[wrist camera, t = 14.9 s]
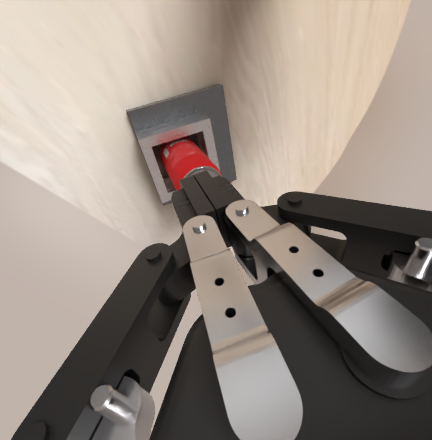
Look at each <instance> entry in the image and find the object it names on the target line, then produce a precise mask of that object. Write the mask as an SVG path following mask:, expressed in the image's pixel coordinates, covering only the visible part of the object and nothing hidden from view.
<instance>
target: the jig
mask: <svg viewBox="0 0 432 440" xmlns="http://www.w3.org/2000/svg"><path fill="white" fill-rule="evenodd" d="M127 113H128V115H129V118H130V120H131V123H132V126H133V128H134V131H135V134H136V136H137V139H138V142H139V144H140V147H141V150H142V152H143V155H144V157H145V160H146V163H147V165H148V168H149V170H150V173H151V175H152V178H153V181H154V183H155V186H156V188H157V191H158V194H159V196H160V199H161V201H162V204H163V205H166V204H169V203H172V200H171V197H172V193H173V192H175V191H177V190H176V188H175V186H174V184H173V183H172V181H171V179H170V177H168V178H165V179H163V178H162V175H161V172H160V169H159V167H158V164H157V161H156V158H155V155H154V153H153V150H152V147H153V146H156V145H159V144H162V143H166V142H169V141H172V140H175V139H178V138H182V137H185V136H188V135H191V134H194V133H196V138H197V142H198V146H199V149H200V150H201V151H202V152H203V153H204V154H205V155H206V156H207V157H208V158H209V159H210V160H211V161H212V162H213V163H214V164H215V166H216V167H217V168H218V169H219V170H220V172H221V175H222V177H224V178H226V179H227V180H228V181H229V182H231V181H234V180H236V172H235V166H234V159H233V152H232V146H231V139H230V132H229V126H228V119H227V112H226V106H225V99H224V92H223V85H221V84H218V85H214V86H211V87H207V88H204V89H200V90H197V91H193V92H190V93H186V94H182V95H179V96H175V97H172V98H168V99H165V100H161V101H158V102H154V103H150V104H147V105H143V106H140V107H136V108H133V109H129V110H127Z"/></svg>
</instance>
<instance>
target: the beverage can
mask: <svg viewBox="0 0 432 440" xmlns="http://www.w3.org/2000/svg"><path fill="white" fill-rule="evenodd" d="M160 157H161V160H162V163H163V165H164V167H165V169H166V171H167V173H168V175H169V177H170V179H171V181H172V183H173V184H174V186H175V188H176V190H180V189H182V188H181V185H180V182H179V180H180V179H182V178H185V177H188V176H191V175H194V174H196V173H199V172H202V171H205V170H207V171H208V173H209V174H210V175H211V177H212V178H213V177H216V176H222V175H221V172H220V170H219V169H218V168H217V167H216V166H215V164H214V163H213V162H212V161H211V160H210V159H209V158H208V157H207V156H206V155H205V154H204V153H203V152H202V151H201V150H200V149H199V147H198V146H197V145H196V144H195V143H194V142H193V141H192V140H191V139H190V138H188V137H186V136H185V137H182V138H178V139H175V140H172V141H169V142H166V143H164V144H163V145H162V147H161V151H160Z"/></svg>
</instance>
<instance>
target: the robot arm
mask: <svg viewBox="0 0 432 440" xmlns="http://www.w3.org/2000/svg"><path fill="white" fill-rule="evenodd" d="M179 182H180V185H181V188H182V189H180V190H177V191H175V192H173V193H172V197H171V200H172V203H173V205H174V208H175V211H176V213H177V216H178V218H179V221H180V223H181V226H182V228H183V232H182V235H181V236H180V238H179V239H178V240H177V241H176V242H174V243H173V244H172V245H170V246H168V245H167V244H163V243H157V244H153V245H150V246H148V247H147V248H145V249H144V250H143V251H142V252H141V253H140V254H139V255H138V257H137V258H136V259H135V261H134V262H133V264H132V265H131V267H130V268H129V270H128V271H127V272H126V274H125V275H124V277H123V278H122V280H121V281H120V283H119V284H118V285H117V287H116V288H115V290H114V291H113V293H112V294H111V295H110V297H109V298H108V300H107V301H106V303H105V304H104V305H103V307H102V308H101V310H100V311H99V313H98V314H97V316H96V317H95V319H94V320H93V321H92V323H91V324H90V326H89V327H88V328H87V330H86V331H85V333H84V334H83V336H82V337H81V338H80V340H79V341H78V343H77V344H76V346H75V347H74V349H73V350H72V351H71V353H70V354H69V356H68V357H67V359H66V360H65V361H64V363H63V364H62V366H61V367H60V369H59V370H58V372H57V373H56V375H55V376H54V377H53V379H52V380H51V382H50V383H49V384H48V386H47V387H46V389H45V390H44V392H43V393H42V395H41V396H40V398H39V399H38V400H37V402H36V403H35V405H34V406H33V407H32V409H31V410H30V412H29V413H28V415H27V416H26V418H25V419H24V420H23V422H22V423H21V425H20V426H19V428H18V429H17V431H16V432H15V434H14V435H13V437H12V439H11V440H432V211H426V210H419V209H412V208H405V207H398V206H391V205H385V204H379V203H372V202H364V201H358V200H351V199H345V198H338V197H331V196H325V195H318V194H311V193H305V192H288V193H285V194H283V195H281V196H280V197H279V198H278V201H277V204H278V205H272V206H265V207H260V206H258V205H257V204H256V203H255V202H253V201H251V200H245V199H244V198H243V197H242V196H241V195H240V194H239V192H238V191H237V190H236V189H235V188H234V187H233V186H232V184H230V182H229V181H228V180H227V179H226V178H224V177H222V176H216V177H213V178H212V177H211V175H210V174H209V173H208V171H207V170H205V171H202V172H199V173H196V174H194V175H191V176H188V177H185V178H182V179H180V180H179ZM311 226H315V227H319V228H324V229H329V230H334V231H338V232H341V233H343V234H344V235H345V236H346V238H347V239H346V240H340V239H336V238H331V237H327V236H323V235H318V234H314V233H311ZM231 246H232V247H233V249H234V253H235V257H236V259H237V261H238V262H239V263H240V265H241V266H242V267H243V269H244V270H245V271H246V273H247V274H248V275H249V277H250V278H251V280H252V281H253V282H254V284H255V285H251V286H247V284H246V282H245V280H244V277H243V275H242V273H241V271H240V269H239V267H238V265H237V262H236V260H235V258H234V256H233V254H232V252H231V250H230V249H227V248H228V247H231ZM195 289H197V293H198V297H199V301H200V305H201V309H202V313H203V314H202V315H201V316H200V317H199V318H198V319H197V320H196V321H195V323H194V324H193V326H192V327H191V329H190V330H189V333H188V334H187V336H186V339H185V341H184V344H183V347H182V350H181V352H180V355H179V358H178V361H177V364H176V367H175V370H174V372H173V375H172V378H171V380H170V383H169V386H168V389H167V391H166V394H165V397H164V400H163V403H162V405H161V408H160V411H159V414H158V416H157V419H156V422H155V425H154V428H153V431H152V433H151V436H150V432H151V427H152V424H153V420H154V415H155V405H154V401H153V398H152V396H151V395H150V394H149V393H150V391H151V388H152V386H153V384H154V381H155V379H156V377H157V374H158V372H159V370H160V368H161V365H162V363H163V361H164V358H165V356H166V354H167V351H168V349H169V347H170V344H171V342H172V339H173V338H174V335H175V332H176V331H177V328H178V326H179V323H180V321H181V319H182V317H183V314H184V312H185V310H186V307H187V305H188V303H189V301H190V297H191V292H192V291H193V290H195Z"/></svg>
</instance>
